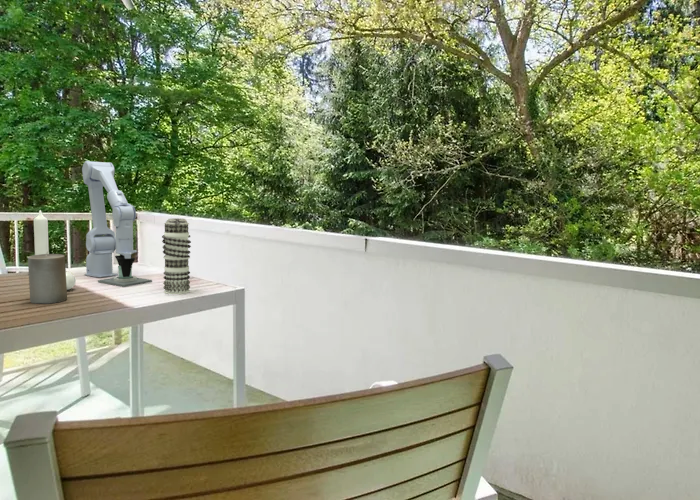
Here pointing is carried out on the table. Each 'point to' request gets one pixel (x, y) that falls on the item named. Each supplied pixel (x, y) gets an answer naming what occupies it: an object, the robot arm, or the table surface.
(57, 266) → the pillar candle
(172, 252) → the decorative candle
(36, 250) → the candle
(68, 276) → the lightbulb
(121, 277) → the cup
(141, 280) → the socket board
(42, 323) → the table surface
